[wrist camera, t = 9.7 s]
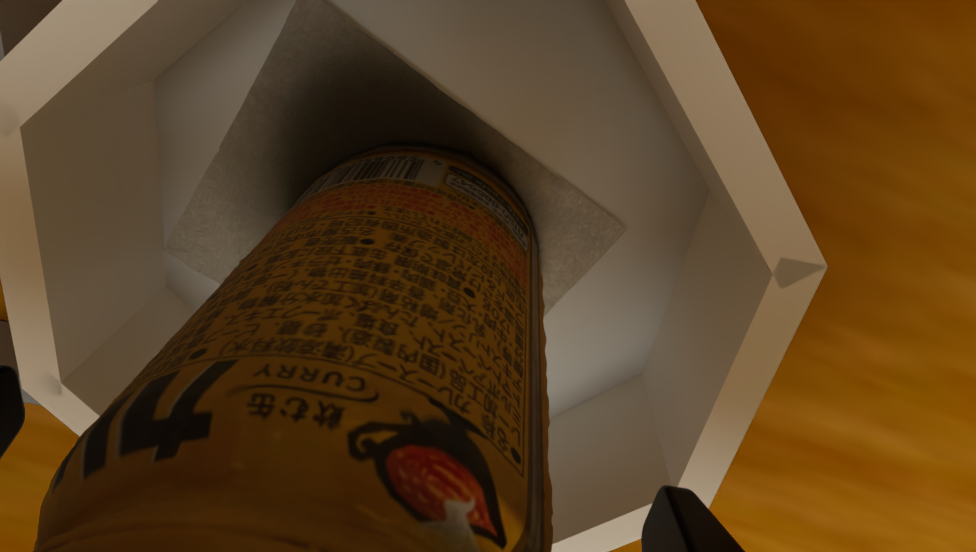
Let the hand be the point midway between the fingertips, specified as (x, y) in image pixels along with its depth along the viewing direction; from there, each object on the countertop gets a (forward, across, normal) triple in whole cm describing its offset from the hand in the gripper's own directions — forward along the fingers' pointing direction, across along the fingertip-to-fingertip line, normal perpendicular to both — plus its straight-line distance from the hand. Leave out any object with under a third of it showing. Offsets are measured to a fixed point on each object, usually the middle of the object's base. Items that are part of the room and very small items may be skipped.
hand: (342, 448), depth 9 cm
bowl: (+8, 0, 0) cm, 8 cm away
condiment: (+7, +1, 0) cm, 7 cm away
